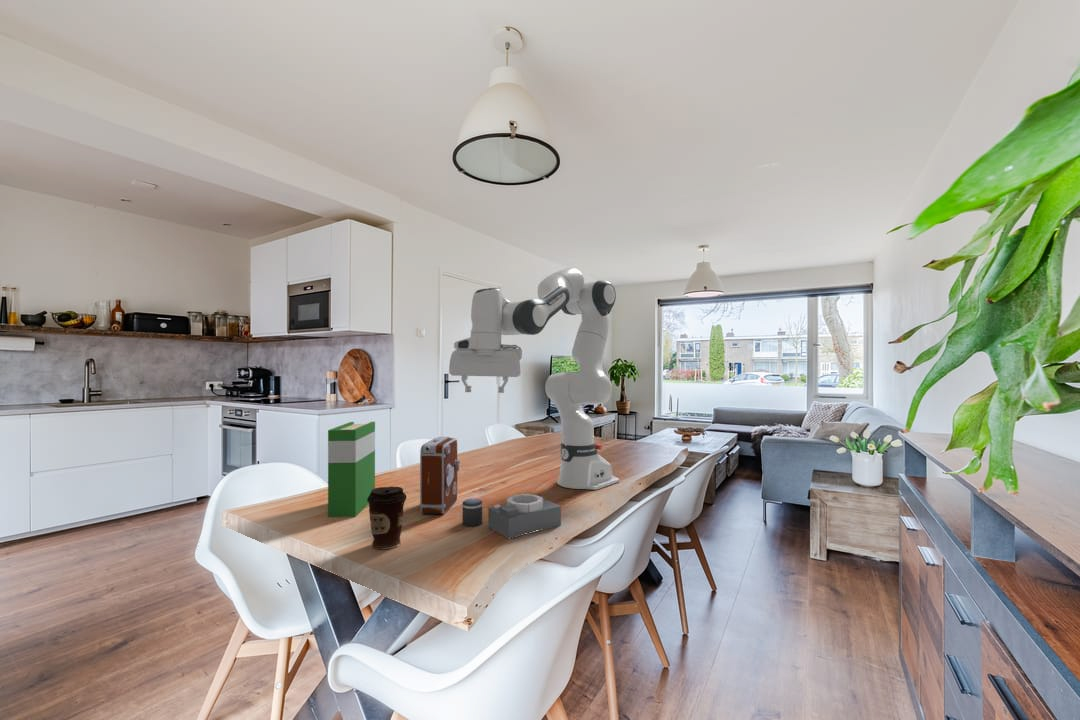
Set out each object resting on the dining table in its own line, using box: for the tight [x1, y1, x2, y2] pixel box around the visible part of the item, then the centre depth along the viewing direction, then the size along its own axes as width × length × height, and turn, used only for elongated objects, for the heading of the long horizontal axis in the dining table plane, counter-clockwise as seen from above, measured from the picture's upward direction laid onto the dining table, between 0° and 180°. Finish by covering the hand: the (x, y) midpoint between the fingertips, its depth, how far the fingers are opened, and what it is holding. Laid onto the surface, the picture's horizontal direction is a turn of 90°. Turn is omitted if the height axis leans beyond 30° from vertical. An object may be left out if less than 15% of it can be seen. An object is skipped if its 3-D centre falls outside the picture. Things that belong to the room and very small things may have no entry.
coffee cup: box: [367, 486, 407, 550], centre depth 107 cm, size 9×8×13 cm
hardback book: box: [327, 421, 376, 518], centre depth 135 cm, size 18×7×24 cm, turn 3°
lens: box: [461, 498, 483, 528], centre depth 122 cm, size 5×5×6 cm
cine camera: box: [419, 436, 461, 515], centre depth 137 cm, size 9×19×20 cm, turn 174°
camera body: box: [487, 493, 562, 539], centre depth 119 cm, size 16×10×7 cm, turn 126°
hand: (484, 392), depth 131 cm, fingers open, 8 cm apart
